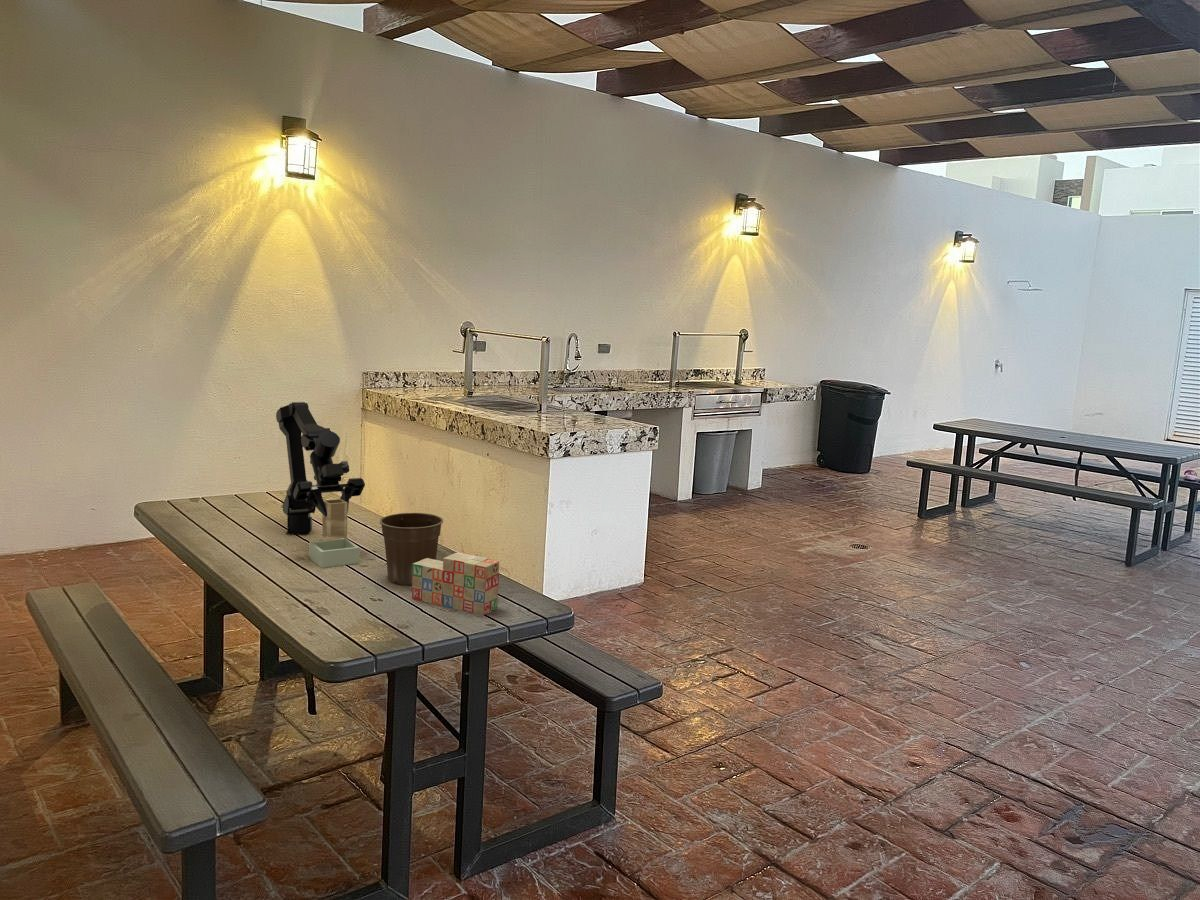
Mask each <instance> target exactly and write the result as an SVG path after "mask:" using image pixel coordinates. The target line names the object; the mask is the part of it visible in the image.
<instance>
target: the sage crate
mask: <svg viewBox="0 0 1200 900" xmlns="http://www.w3.org/2000/svg"><path fill="white" fill-rule="evenodd" d="M308 546H309V547H308V558H309V559H310V560H311V561H312V562H313V563H314V564H316V565H317V566H318V567H320V568H321V569H323V568H331V567H338V566H347V565H348V566H349V565H355V564H360V547H359V546H358V545H357V544H355V543H354V542H352V541H351V540H349V539H348V537H347V538H341V539H332V540H327V539H325V540H319V541H309V542H308Z"/></svg>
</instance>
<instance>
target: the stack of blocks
mask: <svg viewBox="0 0 1200 900" xmlns="http://www.w3.org/2000/svg"><path fill="white" fill-rule="evenodd" d="M412 575H413V577H412V585H411V587H412V588H411V589H412V590H411V599H412V600H415V599H416V601H419V602H420V601H421V602H423V601H424V603H427V602H429V603H428V604H433V605H436V606H439V607H440V606H441V607H445V608H449V609H454V610H458V611H462V612H466V611H468V612H467V613H471V612H472V614H476V615H479V614H480V616H485V614H486V615H487V613H488V612H490V611H491V612H493V611H495V610H497V609H498V603H499V602H498V600H499V599H498V598H499V584H500V580H499V579H500V561H499V560H495V559H491V558H488V557H484V556H477V555H473V554H467V553H462V552H455V553H452V554H449V555H448V556H444V557H443V559H442V560H439V559H436V560H434V559H429V558H426V559H423V560H420V561H418V562H416V563H413V564H412ZM496 608H497V609H496ZM494 609H495V610H494ZM492 610H493V611H492ZM491 612H490V613H491ZM488 614H489V613H488Z"/></svg>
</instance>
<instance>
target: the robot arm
mask: <svg viewBox="0 0 1200 900" xmlns="http://www.w3.org/2000/svg"><path fill="white" fill-rule="evenodd" d="M275 414H276V415H275V419H276V422H277V423H278V428H279V430H280V431H281V433H282V434H283V435H284V436H285V440H286V450H287V459H288V460H287V461H288V469H289V477H290V478H289V479H290V484H289V485H288V488H287V489H286V492H285V493H286V495H285V497H284V501H283V504H282V513H283V514H285V515H286V516H287V522H286V524H287V531H286V532H285V534H286V535H309V533H310V532H312V530H313V517H312V516H311V514H315V512H316V509H317V510H318V511H319V512H320V513H321V514H322V515H324V516H327V511H326V507H325V504H324V501H325V500H324V498H323V496H322V494H323V493H326V494H327V493H337V492H338V493H341V496H340V498H339V499H342V500H344V501H346V502H347V514H348V513H349V506H350V505H349V503H350V500H351V499H352V497H359V496H361V495H362V493H363V492H364V491H363V490H364V488H365V487H366V484H365V483H366V482H365V480H364V479H363V478H362V477H353V478H352V477H351V478H348V480H347V482H346V483H340V482H341V481H342V476H344V474H348V473H349V472H350V465H349V462H348V461H347V460H342V461H340V462H339V463H334V461H333V457H335V455H336V453H337V449H338V448H339V444H340V443H341V438H340V436H339V435H338V434H337V433H336V432H334V431H332V430H331V429H330V427H324V426H322V425H319V424H318V423H317V421H316V419H315V417H314V416H313V414H312V413H311V411H310V408H309V404H308V402H305V401H304V402H303V401H296V402H295V401H294V402H293V401H292V402H290V403H289V404H287V405H285V406H281V407H280V408H279V409H277V411H276V413H275ZM304 450H305V451H306V452H309V451H311V452H310V454H309V459H310V460H309V463H310V465H311V467H312V470H313V474H314V475H313V479H314V481H315V482H316V483H315V484H313V482H312V481H309V480H308V479H307V473H306V464H305V463H306V462H305V456H304V455H305V454H304Z"/></svg>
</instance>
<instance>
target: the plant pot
mask: <svg viewBox="0 0 1200 900" xmlns="http://www.w3.org/2000/svg"><path fill="white" fill-rule="evenodd" d="M443 523H444V519H443V517H440V516H438V515H436V514H432V513H425V512H424V513H423V512H399V513H394V514H388V515H385V516H383V517H381V518H380V519H379V524H380V525H381V530H382V533H381V534H382V537H383V540H384V549H385V560H386V569H387V571H386V572H387V579H388V581H389V582H390V583H393V584H395V583H397V584H398V585H400V586H401V585H402V586H412V577H413V575H412V564H413V563H416V562H418V561H420V560H423V559H426V558H429V559H434V560H437V555H438V554H437V553H438V545H439V544H438V543H439V538H440V536H441V529H442V524H443Z"/></svg>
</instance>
